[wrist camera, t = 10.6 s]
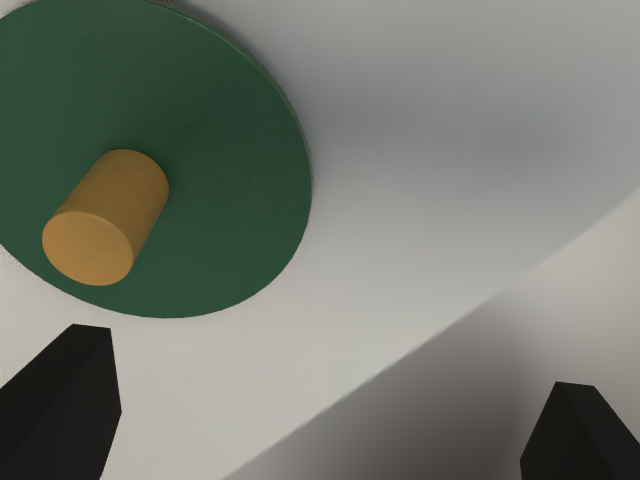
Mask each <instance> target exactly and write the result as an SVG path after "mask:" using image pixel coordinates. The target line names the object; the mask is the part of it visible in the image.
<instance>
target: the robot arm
mask: <svg viewBox="0 0 640 480" xmlns="http://www.w3.org/2000/svg"><path fill="white" fill-rule="evenodd" d="M121 413H122V410H121V403H120V396H119V388H118V381H117V374H116V366H115V359H114V351H113V344H112V337H111V329H110V328H104V327H95V326H87V325H79V324H72V325H71V326H69V327H68V328H67V329H66V330H64V331H63V332H62V333H61V334H60V335H59V336H58V337H57V338H56V339H54V340H53V341H52V342H51V343H50V344H49V345H48V346H47V347H46V348H45V349H44V350H42V351H41V352H40V353H39V354H38V355H37V356H36V357H35V358H34V359H33V360H32V361H30V362H29V363H28V364H27V365H26V366H25V367H24V368H23V369H22V370H21V371H19V372H18V373H17V374H16V375H15V376H14V377H13V378H12V379H10V380H9V381H8V382H7V383H6V384H5V385H4V386H3V387H2V388H0V480H99V479H100V477H101V475H102V472H103V470H104V467H105V464H106V461H107V457H108V454H109V451H110V448H111V445H112V442H113V439H114V436H115V432H116V429H117V426H118V423H119V419H120V416H121ZM520 467H521V476H522V480H640V444H639V442H638V441H637V440H636V439H635V437H634V436H633V435H632V433H631V432H630V431H629V430H628V428H627V427H626V426H625V425H624V423H623V422H622V421H621V419H620V418H619V417H618V416H617V414H616V413H615V412H614V411H613V409H612V408H611V407H610V406H609V404H608V403H607V402H606V400H605V399H604V398H603V397H602V395H601V394H600V393H599V392H598V390H597V389H596V388H595V387H594V386H590V385H582V384H573V383H565V382H556V383H555V385H554V387H553V389H552V391H551V393H550V395H549V398H548V400H547V402H546V404H545V406H544V408H543V411H542V413H541V415H540V417H539V419H538V421H537V423H536V426H535V428H534V430H533V432H532V435H531V436H530V439H529V441H528V443H527V445H526V447H525V450H524V452H523V454H522V456H521V458H520Z"/></svg>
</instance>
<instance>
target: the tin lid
mask: <svg viewBox="0 0 640 480" xmlns="http://www.w3.org/2000/svg"><path fill="white" fill-rule="evenodd" d="M312 181H313V176H312V168H311V159H310V153H309V150H308V146H307V142H306V138H305V135H304V132H303V130H302V127H301V125H300V122H299V120H298V118H297V115H296V113H295V111H294V109H293V107H292V106H291V104H290V102H289V100H288V99H287V97H286V95H285V94H284V92H283V90H282V89H281V87H280V86H279V85H278V84H277V82H276V81H275V80H274V78H273V77H272V76H271V74H270V73H269V72H268V70H267V69H266V68H265V67H264V66H263V65H262V64H261V63H260V62H259V61H258V60H257V59H256V58H255V57H254V56H253V55H252V54H251V53H250V52H249V51H248V50H247V49H246V48H245V47H244V46H242V45H241V44H240V43H239V42H237V41H236V40H235V39H234V38H232V37H231V36H230V35H229V34H227V33H226V32H225V31H223V30H222V29H220V28H218V27H217V26H215V25H214V24H212V23H210V22H209V21H207V20H206V19H204V18H202V17H201V16H199V15H197V14H194V13H192V12H190V11H188V10H186V9H184V8H182V7H179V6H177V5H175V4H172V3H169V2H166V1H163V0H35V1H32V2H30V3H28V4H26V5H23V6H21V7H19V8H17V9H15V10H13V11H12V12H10V13H9V14H7V15H5V16H4V17H2V18H1V19H0V244H1V245H2V246H3V247H4V248H5V249H6V250H7V251H8V252H9V253H10V254H11V255H12V256H13V257H14V258H16V259H17V260H18V261H19V262H20V263H22V264H23V265H24V266H25V267H26V268H27V269H29V270H30V271H32V272H33V273H35V274H36V275H37V276H39V277H40V278H42V279H43V280H44V281H46V282H48V283H49V284H51V285H53V286H55V287H56V288H58V289H60V290H62V291H63V292H65V293H67V294H69V295H72V296H74V297H76V298H78V299H80V300H82V301H85V302H88V303H90V304H93V305H96V306H99V307H101V308H104V309H108V310H112V311H116V312H119V313H123V314H129V315H135V316H141V317H151V318H185V317H193V316H200V315H205V314H209V313H213V312H217V311H221V310H223V309H226V308H228V307H231V306H234V305H236V304H239V303H240V302H242V301H244V300H246V299H248V298H250V297H252V296H253V295H255V294H256V293H258V292H259V291H260V290H262V289H263V288H264V287H266V286H267V285H268V284H270V283H271V282H272V281H273V280H274V279H275V278H276V277H277V276H278V275H279V274H280V273H281V272H282V271H283V269H284V268H285V267H286V265H287V264H288V263H289V261H290V260H291V259H292V257H293V255H294V254H295V252H296V250H297V248H298V246H299V244H300V242H301V240H302V237H303V235H304V232H305V229H306V226H307V223H308V218H309V212H310V207H311V201H312Z"/></svg>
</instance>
